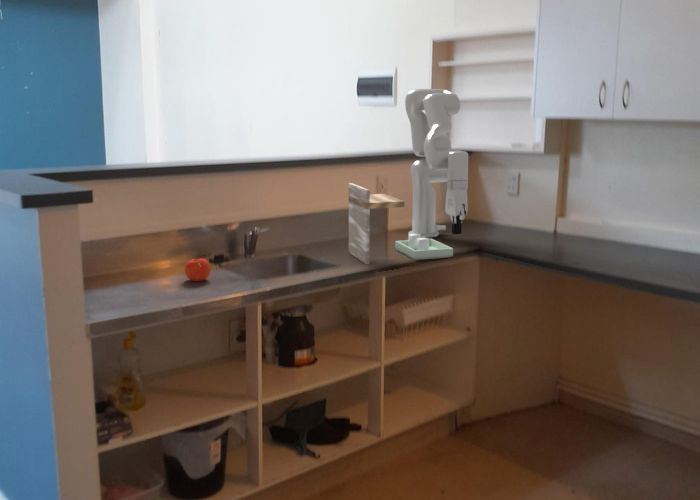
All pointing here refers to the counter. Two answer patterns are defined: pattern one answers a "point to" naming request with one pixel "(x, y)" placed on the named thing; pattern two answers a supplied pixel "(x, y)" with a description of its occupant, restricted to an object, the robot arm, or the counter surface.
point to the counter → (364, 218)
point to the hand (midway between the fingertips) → (456, 233)
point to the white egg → (422, 244)
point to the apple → (197, 269)
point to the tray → (434, 250)
